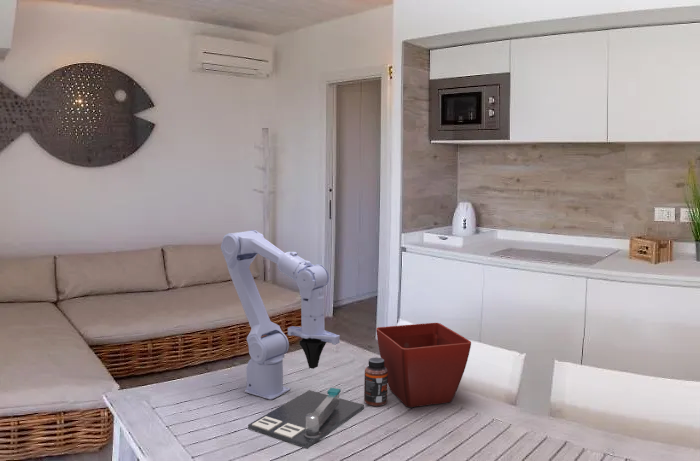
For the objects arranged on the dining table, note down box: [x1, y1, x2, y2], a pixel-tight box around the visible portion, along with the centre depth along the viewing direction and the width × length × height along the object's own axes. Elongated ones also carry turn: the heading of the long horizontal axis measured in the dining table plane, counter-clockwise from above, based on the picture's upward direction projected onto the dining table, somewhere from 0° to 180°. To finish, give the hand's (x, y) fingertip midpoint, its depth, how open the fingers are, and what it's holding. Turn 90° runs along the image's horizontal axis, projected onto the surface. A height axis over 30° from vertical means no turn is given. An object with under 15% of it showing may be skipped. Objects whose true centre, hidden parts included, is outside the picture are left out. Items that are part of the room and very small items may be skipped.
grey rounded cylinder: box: [304, 413, 321, 439], centre depth 132 cm, size 4×4×4 cm
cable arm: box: [313, 387, 342, 428], centre depth 140 cm, size 14×3×4 cm, turn 162°
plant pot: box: [375, 322, 472, 408], centre depth 155 cm, size 19×19×17 cm
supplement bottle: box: [363, 357, 388, 407], centre depth 151 cm, size 6×6×11 cm
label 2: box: [274, 423, 305, 438], centre depth 134 cm, size 5×5×1 cm
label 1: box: [252, 416, 283, 431], centre depth 137 cm, size 5×5×1 cm
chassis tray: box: [247, 389, 365, 449], centre depth 142 cm, size 17×24×1 cm
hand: (313, 367), depth 148 cm, fingers closed
